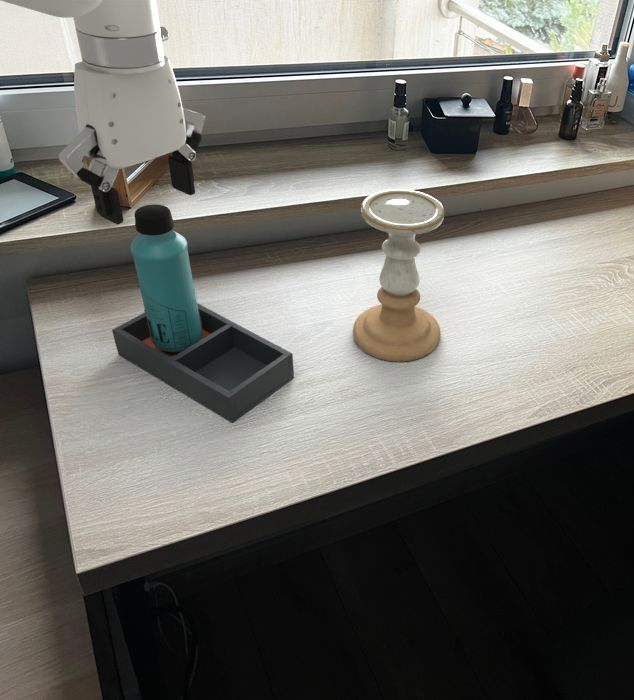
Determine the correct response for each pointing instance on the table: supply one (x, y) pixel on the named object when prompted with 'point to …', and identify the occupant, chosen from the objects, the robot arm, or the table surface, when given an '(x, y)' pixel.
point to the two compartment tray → (212, 363)
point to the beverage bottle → (165, 280)
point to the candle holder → (399, 278)
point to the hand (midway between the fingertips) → (149, 204)
